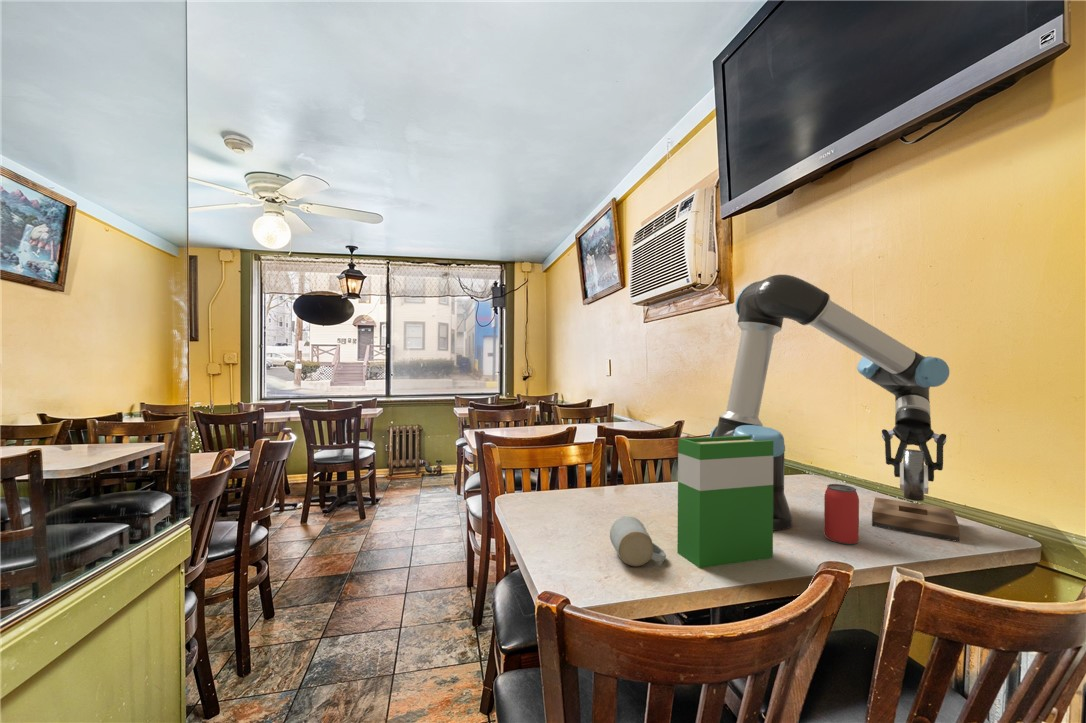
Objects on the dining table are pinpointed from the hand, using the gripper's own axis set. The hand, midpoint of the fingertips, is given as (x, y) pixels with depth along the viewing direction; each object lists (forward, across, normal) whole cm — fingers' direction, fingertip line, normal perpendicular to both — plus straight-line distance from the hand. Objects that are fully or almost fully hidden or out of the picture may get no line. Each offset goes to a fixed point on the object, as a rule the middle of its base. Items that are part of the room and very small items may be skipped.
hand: (913, 489), depth 111 cm
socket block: (+4, 0, -9) cm, 10 cm away
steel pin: (0, 0, -5) cm, 5 cm away
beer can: (+21, +13, +8) cm, 26 cm away
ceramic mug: (+49, +44, +35) cm, 75 cm away
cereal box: (+40, +31, +26) cm, 57 cm away
